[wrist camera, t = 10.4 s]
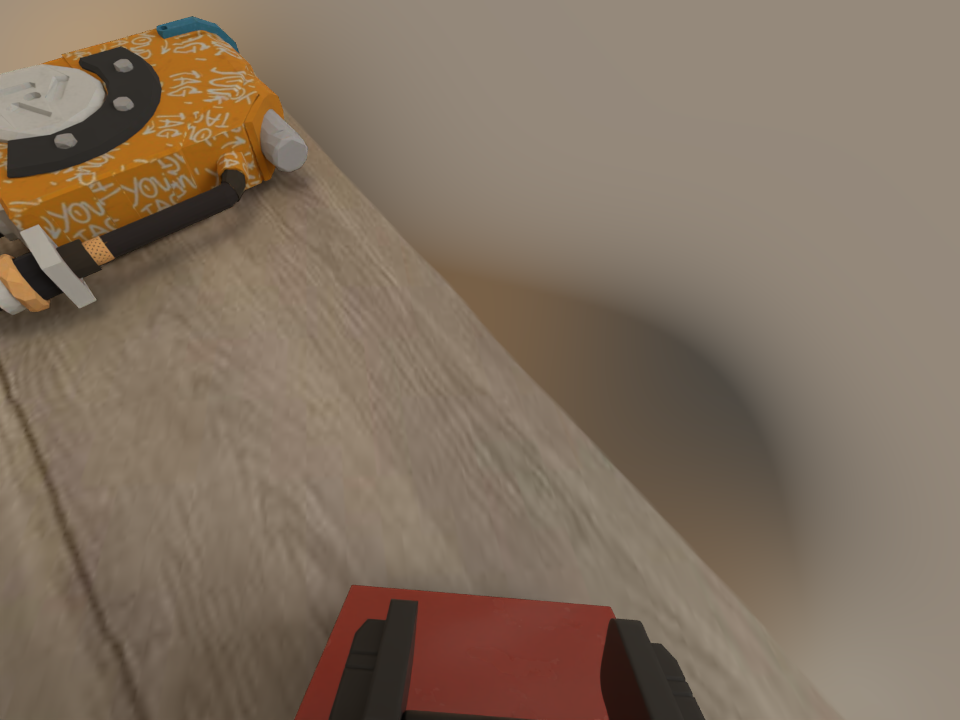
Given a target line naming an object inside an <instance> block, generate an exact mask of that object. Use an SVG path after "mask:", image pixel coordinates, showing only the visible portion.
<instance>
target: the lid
mask: <svg viewBox="0 0 960 720" xmlns="http://www.w3.org/2000/svg"><path fill="white" fill-rule="evenodd" d="M391 599H400V600H412V601H418V613H417V624H416V635H415V646H414V657H413V665H412V673H411V680H410V687H409V694H408V700H407V707H406V711H404V713H403V715H402V719H401V720H609V717H608V714H607V710H606V707H605V703H604V700H603V696H602V692H601V685H600V667H601V661H602V656H603V650H604V645H605V640H606V634H607V629H608V624H609V621H610V619H611V618H615V619H616V617H615V615H614V613H613V611H612V609H611V607H608V606H597V605H585V604H573V603H561V602H549V601H538V600H526V599H514V598H502V597H490V596H479V595H467V594H455V593H443V592H431V591H420V590H408V589H396V588H384V587H372V586H361V585H352V586H351V588H350V590H349V592H348V595H347V597H346V599H345V602H344V604H343V606H342V609H341V611H340V613H339V616H338V618H337V620H336V623H335V625H334V627H333V630H332V632H331V634H330V637H329V639H328V641H327V644H326V646H325V648H324V651H323V653H322V655H321V658H320V660H319V663H318V665H317V667H316V670H315V672H314V674H313V677H312V679H311V681H310V684H309V686H308V688H307V691H306V693H305V695H304V698H303V700H302V702H301V705H300V707H299V709H298V712H297V714H296V716H295V719H294V720H328V719H329V716H330V712H331V709H332V706H333V703H334V699H335V696H336V693H337V690H338V687H339V683H340V680H341V677H342V674H343V670H344V668H345V664H346V661H347V657H348V654H349V652H350V648H351V644H352V641H353V638H354V635H355V632H356V631H357V630H358V629H359V628H360V627H361V626H362V624H363V623H364V622H365V621H366V620H367V619H380V620H386V617H387V613H388V609H389V605H390V601H391Z"/></svg>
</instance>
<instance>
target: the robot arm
mask: <svg viewBox="0 0 960 720" xmlns="http://www.w3.org/2000/svg"><path fill="white" fill-rule="evenodd" d="M417 613H418V601H412V600H400V599H391V601H390V605H389V609H388V613H387V617H386V620H380V619H367V620H366V621H365V622H364V623H363V624H362V626H361V627H360V628H359V629H358V630H357V631H356V632H355V635H354V638H353V641H352V644H351V648H350V652H349V654H348V657H347V661H346V664H345V668H344V670H343V674H342V677H341V680H340V683H339V687H338V690H337V693H336V696H335V699H334V703H333V706H332V709H331V712H330V716H329V719H328V720H401V719H402V715H403V713H404V711H406V707H407V700H408V694H409V687H410V680H411V673H412V665H413V657H414V646H415V635H416V624H417ZM600 685H601V692H602V696H603V700H604V703H605V707H606V710H607V714H608V717H609V720H705V719H704V716H703V714H702V712H701V710H700V708H699V706H698V704H697V702H696V700H695V698H694V697H693V696H692V691H691V689H690V687H689V685H688V683H687V682H685V677H684V675H683V673H682V671H681V669H680V667H679V664H678V662H677V660H676V659H675V658H674V657H673V656H672V655H671V654H670V653H669V652H668V651H667V650H666V649H665V648H664V646H663V645H662V644H657V643H650V641H649V638H648V636H647V634H646V631H645V629H644V627H643V625H642V623H641V622H640V621H638V620H627V619H615V618H611V619H610V621H609V624H608V629H607V634H606V640H605V645H604V650H603V656H602V661H601V667H600Z"/></svg>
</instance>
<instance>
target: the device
mask: <svg viewBox="0 0 960 720" xmlns="http://www.w3.org/2000/svg"><path fill="white" fill-rule="evenodd" d="M62 56H63V57H62V58H59V59H56V60H52V61H49V62H46V63H42V64H39V65H36V66H31V67H27V68H23V69H19V70H14V71H11V72H6V73H2V74H0V238H1V237H3V236H5V237H6V238H8V239H9V240H10V241H13V240H16V239H20V240H21V241H22V242H23V243H24V244H25V246H26V247H27V248H28V249H29V250H30V251H31V252H30V253H27V254H24V255H22V256H19V257H17V258H15V257H12V256H10V255H7V254H3V255H1V256H0V311H2V310H5V311H6V312H8V313H10V314H12V315H15V314H17V313H19V312H21V311H23V310H25V309H28V310H29V311H31V312H38V311H41V310H44V309H47V308H49V305H50V299H51V298H53V297H55V296H57V295H59V294H61V293H63V292H64V293H65V294H66V295H67V296H68V297H69V298H70V299H71V300H72V301H73V302H74V303H75V304H76V306H77V307H78V308H79V309H80V308H82V307H84V306H86V305H88V304H90V303H93V302H95V301H97V300H96V298H95V297H94V295H93V294H92V292H91V291H90V289H89V287H88V286H87V284H86V283H85V281H84V280H83V277H85V276H88V275H90V274H92V273H95V272H97V271H99V270H102V269H101V267H100V265H102V264H104V263H107V262H109V261H111V260H113V259H115V258H117V257H119V256H121V255H123V254H126V253H128V252H130V251H132V250H135V249H137V248H139V247H142V246H144V245H146V244H148V243H151V242H153V241H155V240H157V239H160V238H162V237H164V236H167V235H169V234H171V233H173V232H176V231H178V230H180V229H182V228H185V227H187V226H189V225H192V224H194V223H196V222H198V221H201V220H203V219H205V218H207V217H210V216H212V215H214V214H217V213H219V212H221V211H223V210H226V209H228V208H230V207H232V206H233V205H234V204H235V203H236V202H239V200H240V198H241V196H242V194H243V191H244V190H246V189H248V188H251V187H253V186H255V185H258V184H260V183H261V182H262V180H264V181H267V180H269V179H271V177H272V174H273V172H274V169H275V167H276V168H277V169H279V170H280V171H284V172H291V171H294V170H297V169H299V168H300V167H301V166H302V165H303V164H304V162H305V161H306V158H307V152H308V147H307V146H306V144H305V142H304V141H303V139H302V138H301V137H300V136H299V134H298V133H297V132H296V131H295V130H294V129H292V128H291V127H290V126H289V125H288V124H287V123H286V122H285V121H284V116H283V109H282V106H281V103H280V100H279V97H278V96H277V95H276V94H275V93H274V92H272V90H271V89H269V88H268V87H267V86H266V85H265V84H264V83H263V82H262V81H260V80H259V79H258V78H257V77H256V76H255V73H254V71H253V69H252V67H251V65H250V64H249V63H248V62H247V61H246V60H245V59H244V58H243V57H242V56H241V55H240V54H239V51H238V48H237V45H236V43H235V42H234V41H233V40H232V39H231V38H230V37H229V36H228V35H227V34H226V33H225V32H224V31H223V30H222V29H221V28H220V27H218V26H217V25H216V24H215V23H211V22H208V21H205V20H202V19H199V18H196V17H193V16H192V17H188V18H184V19H181V20H177V21H173V22H169V23H166V24H162V25H159V26H157V28H156V29H153V30H149V31H146V32H142V33H139V34H135V35H131V36H128V37H125V38H122V39H118V40H114V41H110V42H107V43H103V44H99V45H95V46H91V47H88V48H84V49H81V50H77V51H73V52H69V53H65V54H62Z"/></svg>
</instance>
